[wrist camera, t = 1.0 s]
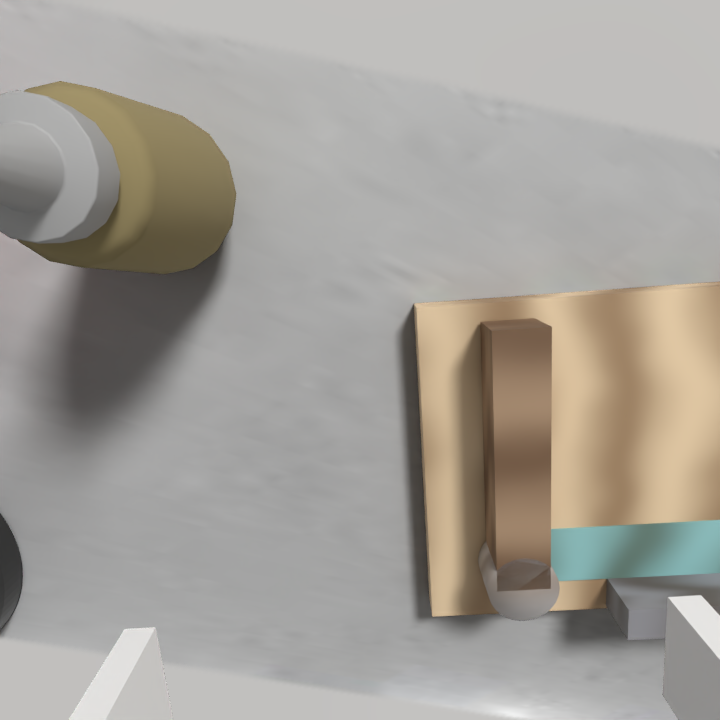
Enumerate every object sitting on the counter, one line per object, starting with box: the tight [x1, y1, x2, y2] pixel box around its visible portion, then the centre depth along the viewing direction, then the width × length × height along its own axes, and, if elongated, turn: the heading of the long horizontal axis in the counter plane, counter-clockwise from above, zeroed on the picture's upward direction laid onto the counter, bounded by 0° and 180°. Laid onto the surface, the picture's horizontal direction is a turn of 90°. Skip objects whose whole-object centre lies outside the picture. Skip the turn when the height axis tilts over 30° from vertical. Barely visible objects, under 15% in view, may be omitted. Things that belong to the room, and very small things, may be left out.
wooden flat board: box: [414, 282, 720, 640], centre depth 31 cm, size 22×20×5 cm
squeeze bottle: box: [0, 81, 236, 274], centre depth 22 cm, size 8×8×18 cm
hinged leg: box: [478, 318, 560, 621], centre depth 30 cm, size 17×4×3 cm, turn 4°
